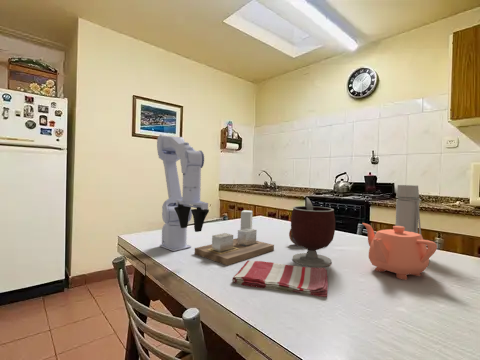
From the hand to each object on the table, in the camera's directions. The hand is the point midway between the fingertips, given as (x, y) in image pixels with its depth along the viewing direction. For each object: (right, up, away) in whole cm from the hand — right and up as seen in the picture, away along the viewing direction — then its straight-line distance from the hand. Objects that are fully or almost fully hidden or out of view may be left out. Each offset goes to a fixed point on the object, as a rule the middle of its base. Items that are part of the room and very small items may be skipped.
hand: (190, 229), depth 86 cm
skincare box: (+19, -10, +29) cm, 36 cm away
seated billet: (+18, -10, +13) cm, 24 cm away
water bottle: (+78, -11, +12) cm, 80 cm away
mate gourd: (+39, -11, +1) cm, 41 cm away
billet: (+10, -10, +4) cm, 14 cm away
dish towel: (+27, -11, -15) cm, 33 cm away
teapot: (+61, -11, -8) cm, 62 cm away
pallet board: (+14, -10, +8) cm, 19 cm away
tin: (+43, -10, +21) cm, 49 cm away
